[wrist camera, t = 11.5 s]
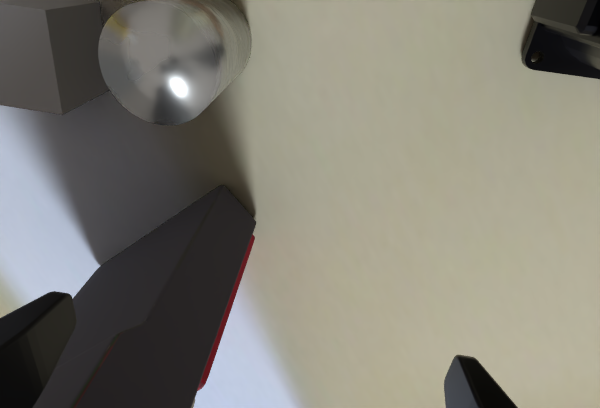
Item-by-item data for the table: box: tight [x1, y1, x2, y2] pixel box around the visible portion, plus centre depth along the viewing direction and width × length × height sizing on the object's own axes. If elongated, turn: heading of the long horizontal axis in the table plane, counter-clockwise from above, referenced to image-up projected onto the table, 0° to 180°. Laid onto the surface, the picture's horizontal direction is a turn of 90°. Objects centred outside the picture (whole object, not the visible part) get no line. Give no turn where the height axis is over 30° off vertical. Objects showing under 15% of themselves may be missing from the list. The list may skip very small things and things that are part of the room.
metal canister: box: [98, 0, 252, 126], centre depth 17 cm, size 4×4×6 cm
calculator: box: [33, 185, 256, 408], centre depth 19 cm, size 11×4×15 cm, turn 127°
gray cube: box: [0, 0, 109, 115], centre depth 18 cm, size 4×4×4 cm
